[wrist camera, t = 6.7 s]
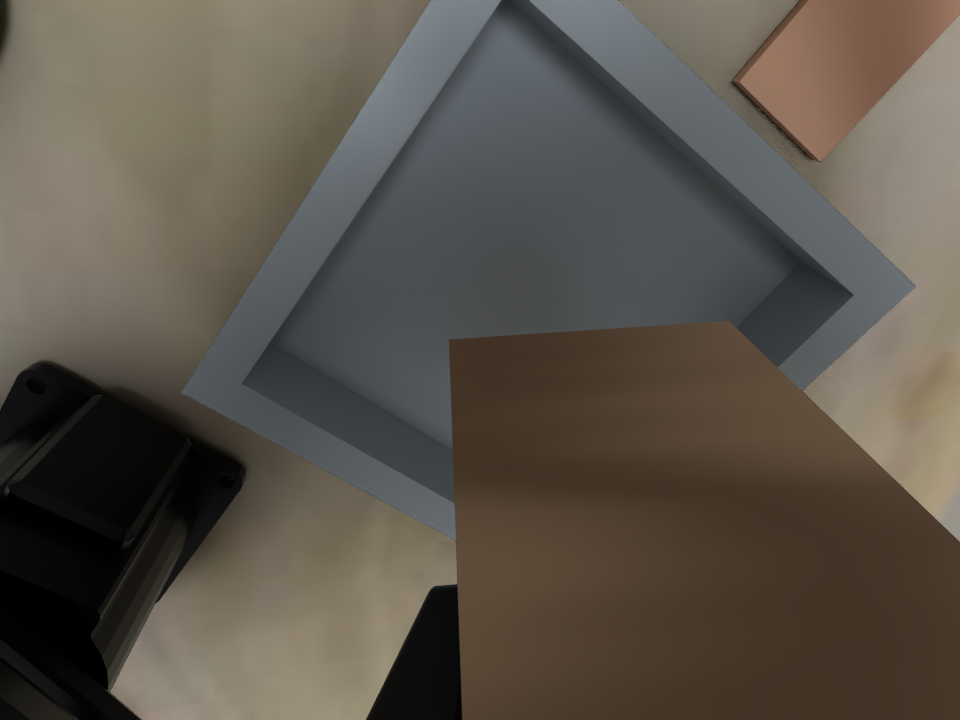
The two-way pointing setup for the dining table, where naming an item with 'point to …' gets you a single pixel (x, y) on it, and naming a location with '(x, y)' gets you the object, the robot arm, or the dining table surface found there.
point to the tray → (524, 238)
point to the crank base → (838, 63)
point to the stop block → (684, 540)
